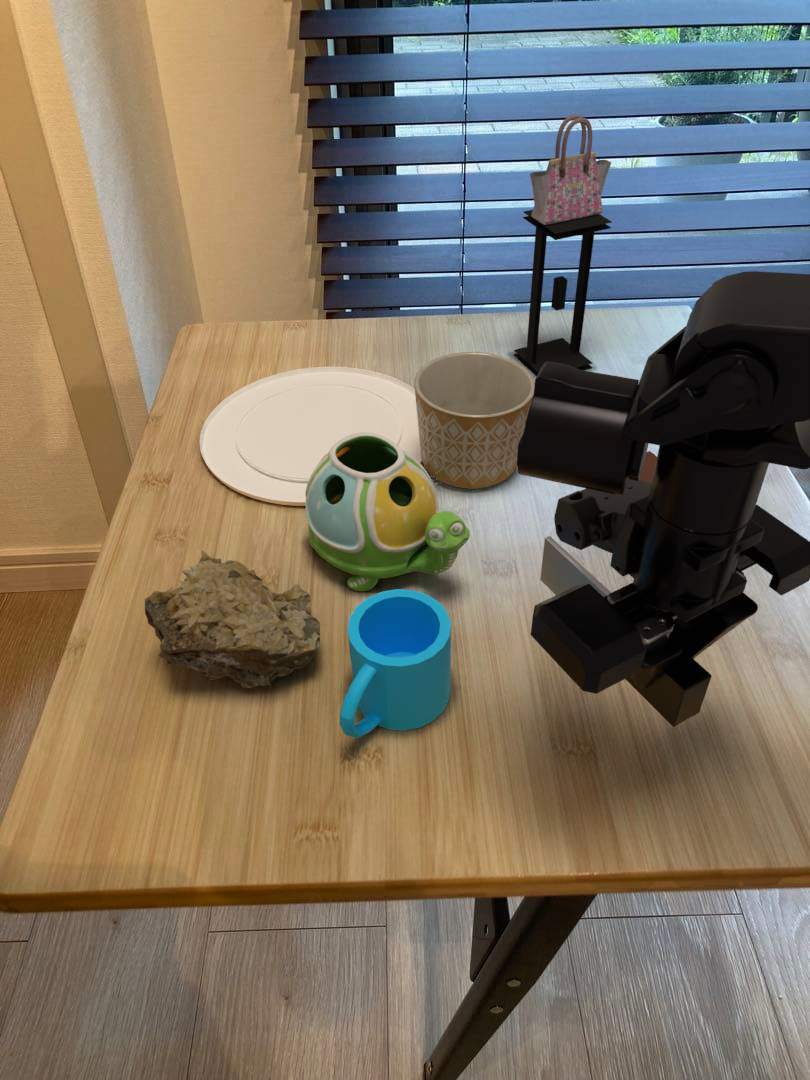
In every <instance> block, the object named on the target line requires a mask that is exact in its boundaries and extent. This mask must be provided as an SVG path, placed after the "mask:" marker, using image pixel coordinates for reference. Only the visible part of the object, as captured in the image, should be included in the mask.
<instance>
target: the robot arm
mask: <svg viewBox="0 0 810 1080" xmlns="http://www.w3.org/2000/svg"><path fill="white" fill-rule="evenodd" d="M646 359H647V360H646V361H645V364H644V368H643V370H642V374H641V376H640V378H639V379H635V378H629V377H624V376H620V375H619V376H618V375H612V374H608V373H607V374H606V373H601V372H595V371H588V370H580V369H577V368H574V367H572V366H570V365H566V364H562V363H556V362H550V361H547V362H545V363H544V364H543V366H542V368H541V370H540V372H539V373H538V375H537V376H535V379H534V382H535V386H534V396H533V399H532V402H531V405H530V408H529V412H528V416H527V420H526V425H525V429H524V433H523V435H522V437H521V439H520V441H519V444H518V453H517V467H516V469H517V472H518V474H519V475H522V476H525V477H529V478H536V479H540V480H544V481H548V482H554V483H559V484H564V485H568V486H572V487H577V488H583V489H581V490H577V491H575V492H572V493H569V494H567V495H565V496H562V497H560V498H558V500H557V503H556V509H555V512H554V517H553V520H554V521H553V522H554V530H555V535H556V536H557V538H558V539H559V541H560V542H562V543H564V544H567V545H569V546H571V547H573V548H575V549H578V550H579V551H582V550H584V549H587V548H589V547H591V546H594V547H596V548H598V549H599V550H603V551H604V552H607V553H610V554H611V559H610V564H609V566H610V567H611V568H612V569H613V570H615V572H617V573H618V574H619V575H620V576H621V577H626V576H628V575H629V576H630V577H632V579H633V580H632V582H631V583H629V584H627V585H625V586H622V587H620V588H618V589H616V590H614V591H611V593H610V594H609V595H607V596H605V597H603V596H602V595H601V594H600V593H599V592H598V591H597V590H596V589H594V588H593V587H592V586H591V585H590V584H583V585H577V586H575V587H573V588H571V589H569V590H567V591H565V592H562V593H560V594H558V595H554V596H552V597H550V598H547V599H545V600H543V601H542V602H541V601H540V602H539V603H537V604H535V605H534V608H533V613H532V620H531V627H530V636H531V637H532V638H533V639H534V640H535V642H536V643H537V644H538V645H539V646H540V647H541V648H542V649H543V650H544V651H545V652H546V654H547V655H549V656H550V658H551V659H552V660H553V661H554V662H555V663H556V664H557V665H558V666H559V668H560V669H562V671H564V673H565V674H566V675H567V676H568V677H569V678H570V679H571V680H572V681H573V682H574V684H575V685H576V686H577V687H578V688H579V689H580V690H581V691H582V692H585V693H591V694H596V695H597V694H599V693H601V692H603V691H605V690H607V689H609V688H611V687H613V686H614V685H616V684H618V683H620V682H622V681H624V680H626V679H625V678H627V677H629V676H631V679H632V681H633V682H634V683H635V684H636V685H637V686H638V687H639V688H640V689H641V690H644V689H646V688H647V687H648V686H649V685H650V684H651V683H653V682H654V681H655V680H656V679H657V678H658V677H659V676H660V675H661V673H662V672H663V671H664V670H665V669H666V668H667V667H668V666H669V665H670V664H671V663H672V662H673V661H674V660H675V659H676V658H677V657H678V656H679V655H680V654H681V653H682V652H683V650H684V651H685V652H686V653H688V654H689V655H690V656H691V657H692V658H693V659H694V660H695V659H696V658H697V657H698V656H699V655H701V654H702V653H703V652H705V651H706V650H707V649H708V648H710V647H711V646H713V645H714V644H715V643H717V642H718V641H719V640H720V639H722V638H723V637H724V636H726V635H727V634H728V633H730V632H731V631H732V630H734V629H735V628H736V627H738V626H739V625H741V624H742V623H743V622H744V621H746V620H747V619H749V618H750V617H752V616H754V615H755V614H756V613H757V612H758V610H759V605H758V604H757V603H756V601H755V600H754V599H752V598H751V597H750V596H748V595H747V594H746V593H745V592H744V591H745V589H746V585H747V582H748V580H747V576H746V575H745V573H744V571H745V570H748V569H749V568H751V567H753V566H756V565H757V566H759V567H760V568H762V569H763V570H764V571H765V572H767V573H768V574H770V575H771V579H770V582H769V584H768V587H769V588H770V589H772V590H773V591H774V592H775V593H777V594H778V595H779V596H781V597H782V596H783V595H786V594H787V593H789V592H792V591H793V590H795V589H797V588H798V587H801V586H802V585H805V584H806V583H808V582H810V540H808V539H807V538H806V537H804V536H803V535H802V534H799V532H797V531H795V530H794V529H793V528H791V527H790V526H788V525H786V524H785V523H784V522H783V521H781V520H780V519H778V518H777V517H776V516H775V515H773V514H771V513H770V512H768V511H767V510H766V509H764V508H763V507H761V506H760V505H758V504H757V502H758V499H759V496H760V492H761V490H762V486H763V484H764V482H765V481H764V480H765V477H766V475H767V472H768V468H769V465H770V464H772V465H778V466H782V467H783V466H784V467H789V468H793V469H797V470H808V469H810V273H792V272H777V271H775V272H774V271H755V270H754V271H753V270H751V271H749V270H748V271H741V272H737V273H732V274H730V275H724V276H723V277H722V278H719V279H718V280H716V281H714V282H713V283H712V284H711V286H710V287H708V288H707V289H706V290H705V291H704V292H703V293H702V295H700V296H699V298H698V299H697V300H696V301H695V303H694V305H693V307H692V309H691V312H690V313H689V316H688V320H687V323H686V325H685V326H684V327H683V328H682V329H680V330H679V331H678V332H677V333H676V334H674V335H673V336H672V337H671V338H669V339H668V340H666V342H665V343H663V344H662V345H661V346H660V347H658V348H657V349H656V350H655V351H654V352H652V353H651V354H650V355H649V356H648V357H647V358H646ZM649 444H651V445H656V446H659V447H658V451H657V455H656V456H657V460H656V465H655V470H654V474H653V479H652V483H650V482H647V481H644V480H641V479H639V478H640V475H641V472H642V468H643V464H644V460H645V456H646V452H648V448H649ZM676 643H677V644H678V645H679V646H678V645H677V644H676Z"/></svg>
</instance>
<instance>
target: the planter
mask: <svg viewBox="0 0 810 1080" xmlns="http://www.w3.org/2000/svg"><path fill="white" fill-rule="evenodd" d="M413 384H414V389H415V397H416V407H417V418H418V429H419V440H420V450H421V458H422V464H423V467H424V468H425V470H426V471H427V473H428V474H430V475H431V476H432V477H433V478H435V479H436V480H438V481H439V482H442V483H444V484H446V485H449V486H452V487H456V488H460V489H484V488H488V487H492V486H495V485H497V484H501V483H502V482H504V481H505V480H507V479H508V478H509V477H510V476H511V475H513V473H514V472H515V471H516V469H517V453H518V444H519V441H520V439H521V437H522V435H523V433H524V429H525V425H526V420H527V416H528V412H529V408H530V405H531V402H532V399H533V396H534V386H535V379H534V377H533V375H532V374H531V372H530V371H529V370H527V368H525V366H523V365H521V364H520V363H518V362H517V361H515V360H512V359H511V358H508V357H505V356H502V355H498V354H494V353H489V352H483V351H482V352H479V351H464V352H463V351H461V352H454V353H449V354H445V355H441V356H438V357H436V358H434V359H432V360H430V361H428V362H427V363H425V364H424V365H423V366H421V367H420V368H419V370H418V371H417V372H416V374H415V377H414V383H413Z"/></svg>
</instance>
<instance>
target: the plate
mask: <svg viewBox="0 0 810 1080" xmlns="http://www.w3.org/2000/svg"><path fill="white" fill-rule="evenodd" d="M361 432H372V433H376V434H379V435H382V436H384V437H386V438H388V439H389V440H391V441H393V442H394V443H396V444H397V445H398V446H399V447H400V448H401V449H402V450H403V451H404V452H406V453H407V454H409V455H410V456H412V457H413V458H414V459H416V460H417V461H418V462H419V463H420V464H421V465H422V464H423V462H422V458H421V450H420V440H419V429H418V418H417V407H416V397H415V387H413V386H411V385H409V384H408V383H406V382H404V381H403V380H401V379H398V378H396V377H393V376H392V375H391V376H390V375H389V374H386V373H383V372H378V371H374V370H369V369H364V368H360V367H359V368H358V367H349V366H314V367H304V368H298V369H293V370H287V371H283V372H279V373H275V374H272V375H268V376H265V377H263V378H260V379H258V380H255V381H252V382H251V383H248V384H246V385H244V386H243V387H241V388H239V389H237V390H236V391H234V392H232V393H231V394H229V395H228V396H227V397H225V398H224V399H223V400H221V402H220V403H218V404H217V405H216V406H215V408H213V410H212V411H211V412H210V413H209V414H208V416H207V417H206V419H205V421H204V423H203V425H202V427H201V431H200V435H199V450H200V454H201V456H202V459H203V461H204V463H205V465H206V466H207V468H208V469H209V471H210V472H211V473H212V474H213V476H215V478H217V479H218V480H219V481H220V482H221V483H222V484H224V485H225V486H226V487H228V488H230V489H231V490H233V491H235V492H237V493H239V494H241V495H244V496H246V497H249V498H251V499H254V500H258V501H261V502H266V503H271V504H274V505H283V506H296V507H306V495H305V492H306V487H307V484H308V481H309V479H310V476H311V474H312V473H313V471H314V469H315V468H316V467H317V465H318V464H319V462H320V461H321V459H322V458H323V457H324V456H325V455H326V454H327V453H328V452H329V451H330V449H331V447H332V446H333V445H334V444H335V443H337V442H338V441H339V440H341V439H343V438H344V437H347V436H349V435H352V434H356V433H361Z"/></svg>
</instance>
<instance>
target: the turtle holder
mask: <svg viewBox="0 0 810 1080" xmlns="http://www.w3.org/2000/svg"><path fill="white" fill-rule="evenodd" d="M305 495H306V506H305V507H304V508H305V516H306V521H307V523H308V524H307V525H308V526H307V527H308V536H309V545H310V546H311V547H312V549H314V550H315V552H316V553H317V554H318V555H319V556H320V557H321V558H322V559H323V560H325V561H326V562H327V563H329V564H330V565H331V566H333V567H335V568H336V569H339V570H341V571H343V572H345V573H348V574H351V575H352V576H350V577H348V579H347V580H346V583H347V586H348V588H349V589H350V590H353V591H356V592H369V591H370V590H372V589H373V588H375V587H376V585H377V584H378V582H379V579H389V578H393V577H398V576H402V575H405V574H409V573H415V572H418V573H423V574H428V575H436V574H441V573H445V572H446V571H448V570H449V569H450V568H452V567H453V566H454V564H455V562H456V559H457V557H458V554H459V550H460V549H462V547H463V546H464V545H465V544H466V543H467V542H468V541H469V539H470V536H471V532H470V530H469V528H468V527H467V526H466V524H465V522H464V520H463V519H462V518H460V517H459V516H458V515H457V514H456V513H455V512H453V511H450V510H443V511H440V507H439V499H438V497H437V489H436V487H435V485H434V483H433V480H432V478H431V476H430V475H429V472H428V470H427V469H426V468H425V466H424V465H422V464H420V463H419V462H418V461H417V460H416V459H414V458H413V457H412V456H410V455H409V454H407V453H406V452H404V451H403V450H402V449H401V448H400V447H399V446H398V445H397V444H396V443H394V442H393V441H391V440H389V439H388V438H386V437H384V436H382V435H379V434H376V433H372V432H361V433H356V434H352V435H349V436H347V437H344V438H343V439H341V440H339V441H338V442H337V443H335V444H334V445H333V446H332V447H331V449H330V451H329V452H328V453H327V454H326V455H325V456H324V457H323V458H322V459H321V461H320V462H319V464H318V465H317V467H316V468H315V469H314V471H313V473H312V474H311V476H310V479H309V481H308V484H307V487H306V492H305ZM439 511H440V512H439Z"/></svg>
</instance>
